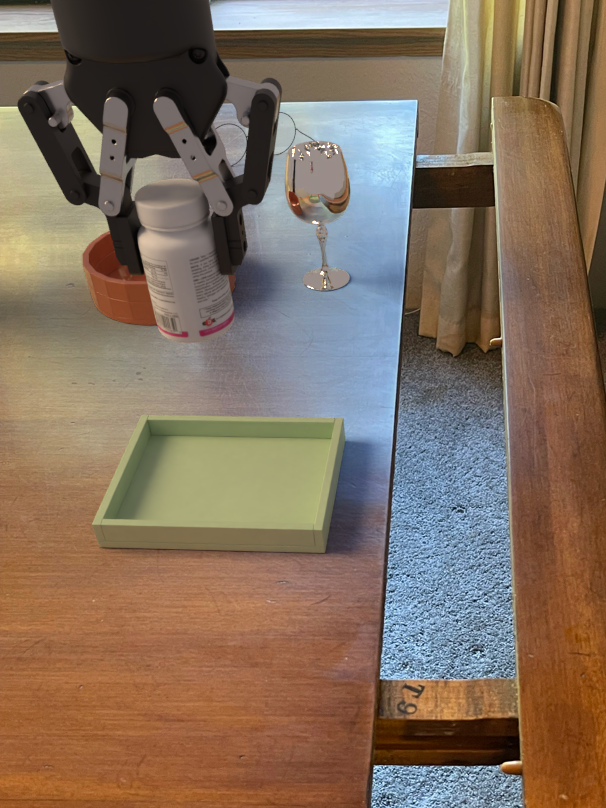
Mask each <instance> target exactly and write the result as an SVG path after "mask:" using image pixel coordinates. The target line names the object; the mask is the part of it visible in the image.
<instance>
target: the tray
mask: <svg viewBox="0 0 606 808" xmlns="http://www.w3.org/2000/svg"><path fill="white" fill-rule="evenodd" d="M345 444H346V431H345V420H344V418H343V417H305V416H304V417H303V416H300V417H299V416H297V417H296V416H293V417H292V416H245V415H243V416H236V415H235V416H234V415H233V416H231V415H228V416H227V415H179V414H178V415H177V414H176V415H172V414H141V415H140V417H139V419H138V420H137V423H136V425H135V428H134V429H133V432H132V434H131V437H130V439H129V441H128V443H127V446H126V447H125V450H124V452H123V454H122V456H121V459H120V461H119V463H118V466H117V467H116V470H115V472H114V474H113V476H112V479H111V480H110V483H109V485H108V487H107V489H106V491H105V494H104V496H103V498H102V500H101V502H100V505H99V507H98V510H97V511H96V514H95V516H94V518H93V520H92V523H91V527H92V529H93V532H94V536H95V539H96V541H97V544H98V547H99V548H108V549H109V548H112V549H113V548H115V549H149V550H150V549H152V550H153V549H155V550H188V551H189V550H192V551H225V552H226V551H228V552H234V551H235V552H236V551H237V552H264V553H265V552H268V553H269V552H271V553H304V554H305V553H309V554H310V553H312V554H325V553H326V549H327V546H328V545H327V544H328V540H329V534H330V528H331V522H332V516H333V512H334V505H335V499H336V493H337V489H338V483H339V478H340V471H341V466H342V462H343V455H344V451H345Z"/></svg>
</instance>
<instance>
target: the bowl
mask: <svg viewBox="0 0 606 808" xmlns="http://www.w3.org/2000/svg"><path fill="white" fill-rule="evenodd" d="M81 257H82V259H81V263H82V264H81V265H82V268H83V272H84V274H85V278H86V279H85V280H86V282H87V286H88V289H89V294H90V297H91V300H92V301H93V304H94V306H95V308H96V309H97V310H98V311H99V312H100V313H101V314H102V315H104V316H106V317H107V318H110V319H112V320H114V321H117V322H119V323H120V322H121V323H125V324H131V325H138V326H139V325H141V326H153V325H154V326H158V325H157V322H156V318H155V314H154V309H153V305H152V301H151V297H150V293H149V289H148V284H147V280H146V276H145V273H144V275H130V273H129V270H128V266H127V265H121V264H120V262H119V261H118V259H117V258H116V254H115V250H114V246H113V241H112V238H111V234H110V230H108V231H105V232H103V233H102V234H100V235H99V236H97V237H96V238H94V239H93V240H91V241H90V242H89V243H88V244H87V246H86V247H85V249H84V251H83V252H82V254H81ZM228 278H229V284H230V289H231V295H232V294H233V292H234V290H235V287H236V279H237V278H236V273H235V274H234V275H228Z"/></svg>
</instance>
